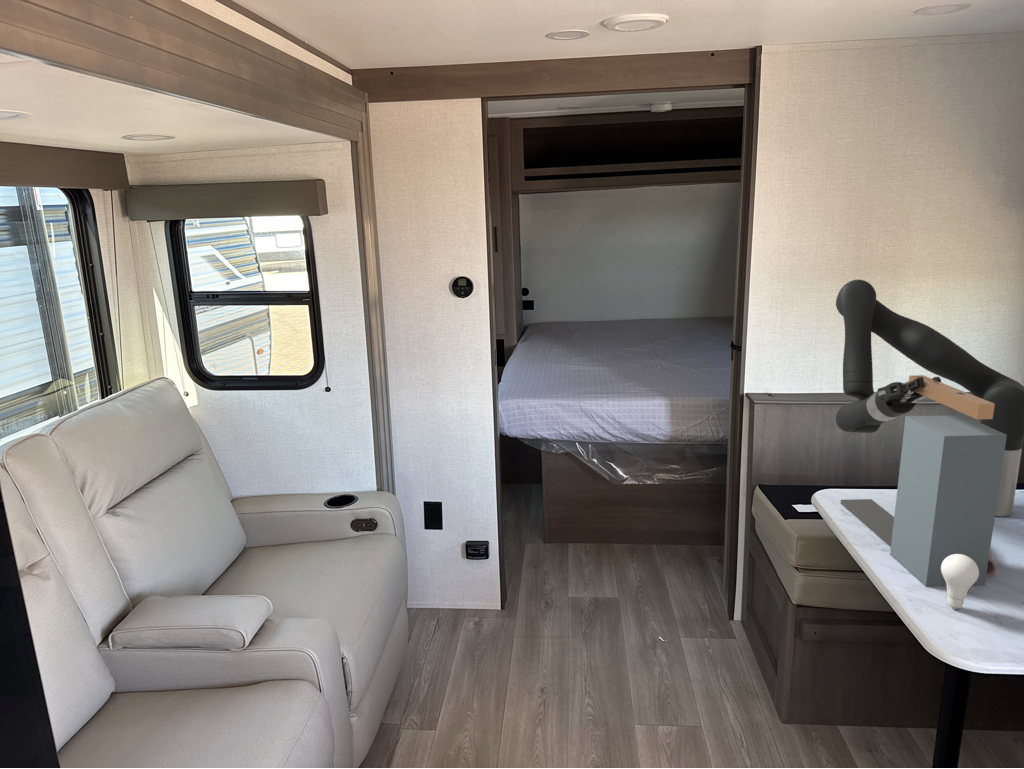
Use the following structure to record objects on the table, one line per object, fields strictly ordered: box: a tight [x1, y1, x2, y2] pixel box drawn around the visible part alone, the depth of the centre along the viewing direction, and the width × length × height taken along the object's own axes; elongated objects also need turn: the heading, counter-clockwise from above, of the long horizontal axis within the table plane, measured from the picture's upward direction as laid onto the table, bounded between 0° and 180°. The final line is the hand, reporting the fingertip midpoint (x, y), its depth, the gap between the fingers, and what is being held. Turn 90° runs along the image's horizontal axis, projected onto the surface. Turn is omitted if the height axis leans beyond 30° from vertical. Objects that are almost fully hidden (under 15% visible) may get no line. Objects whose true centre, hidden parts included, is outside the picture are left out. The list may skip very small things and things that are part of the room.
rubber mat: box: [840, 498, 894, 548], centre depth 175 cm, size 26×8×1 cm, turn 0°
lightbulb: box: [941, 554, 979, 610], centre depth 137 cm, size 6×6×11 cm
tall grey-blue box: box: [889, 414, 1007, 588], centre depth 149 cm, size 14×12×32 cm
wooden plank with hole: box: [908, 374, 995, 420], centre depth 147 cm, size 24×3×3 cm, turn 0°
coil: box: [986, 553, 998, 579], centre depth 157 cm, size 5×5×18 cm
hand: (930, 381), depth 153 cm, fingers closed on wooden plank with hole, 3 cm apart
